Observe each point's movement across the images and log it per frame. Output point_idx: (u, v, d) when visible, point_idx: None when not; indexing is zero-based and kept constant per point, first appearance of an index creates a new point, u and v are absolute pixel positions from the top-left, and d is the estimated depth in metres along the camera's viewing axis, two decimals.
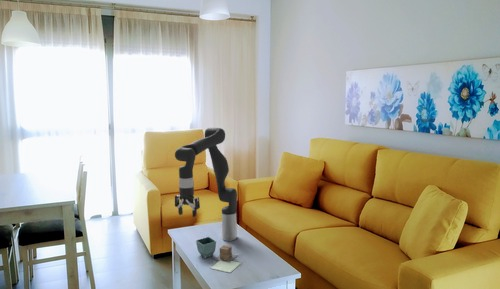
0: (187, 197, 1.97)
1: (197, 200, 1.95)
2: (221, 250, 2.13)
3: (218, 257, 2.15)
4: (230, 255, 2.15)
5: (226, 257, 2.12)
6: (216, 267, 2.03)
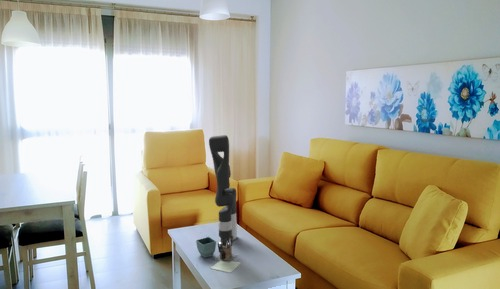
0: (228, 237, 2.14)
1: None
2: None
3: (218, 257, 2.15)
4: (230, 255, 2.15)
5: (226, 257, 2.12)
6: (216, 267, 2.03)
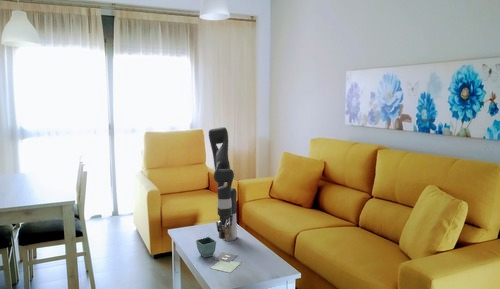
0: (227, 216, 2.02)
1: None
2: None
3: (218, 257, 2.15)
4: (229, 235, 2.03)
5: (225, 237, 2.00)
6: (216, 267, 2.03)
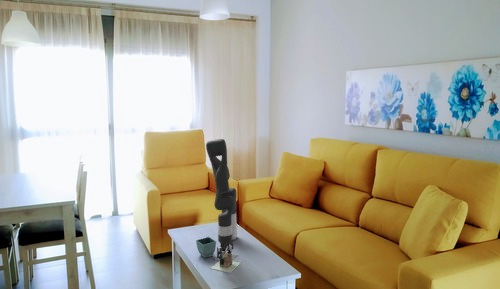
0: (228, 242, 2.04)
1: None
2: None
3: None
4: (230, 263, 2.05)
5: (226, 265, 2.02)
6: (216, 267, 2.03)
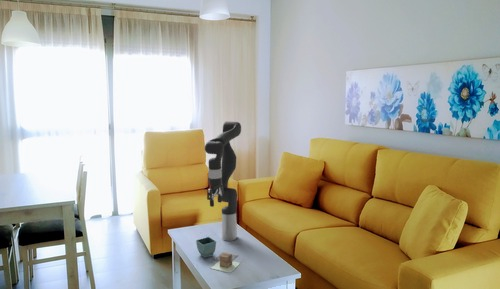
0: (218, 186, 2.15)
1: None
2: (221, 258, 2.03)
3: (218, 257, 2.15)
4: (230, 263, 2.05)
5: (226, 265, 2.02)
6: (216, 267, 2.03)
